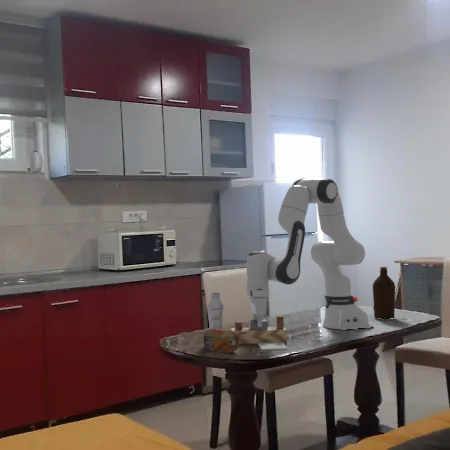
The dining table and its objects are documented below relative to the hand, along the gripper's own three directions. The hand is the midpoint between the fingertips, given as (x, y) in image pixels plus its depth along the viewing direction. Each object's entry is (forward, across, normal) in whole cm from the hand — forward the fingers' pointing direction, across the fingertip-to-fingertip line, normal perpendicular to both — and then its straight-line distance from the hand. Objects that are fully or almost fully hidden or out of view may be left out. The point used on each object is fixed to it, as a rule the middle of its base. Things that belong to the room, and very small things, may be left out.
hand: (258, 324), depth 236 cm
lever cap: (+2, 0, 0) cm, 2 cm away
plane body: (+7, 0, 0) cm, 7 cm away
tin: (+7, +15, -16) cm, 23 cm away
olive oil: (+6, -41, +67) cm, 79 cm away
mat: (+7, +11, +4) cm, 13 cm away
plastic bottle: (+7, -1, -17) cm, 18 cm away
